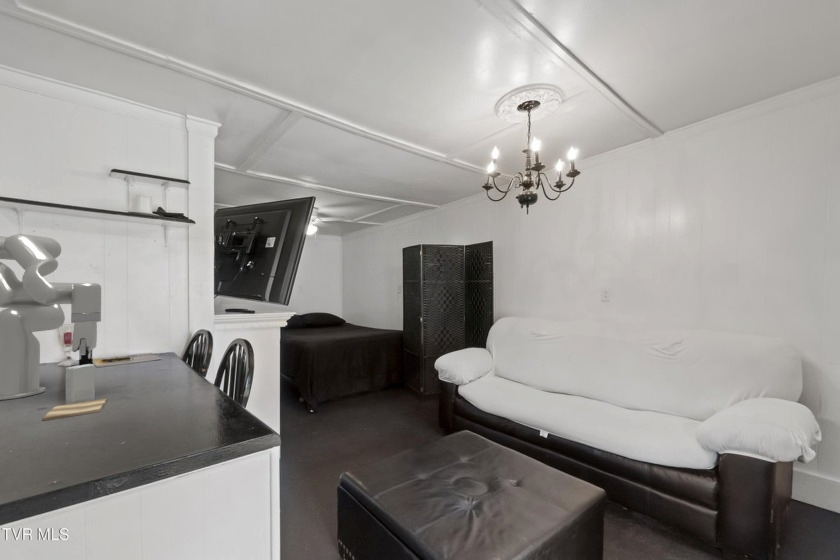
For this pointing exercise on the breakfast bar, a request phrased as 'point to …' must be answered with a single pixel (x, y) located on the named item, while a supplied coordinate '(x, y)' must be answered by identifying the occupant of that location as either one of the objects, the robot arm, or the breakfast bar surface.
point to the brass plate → (75, 409)
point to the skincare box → (80, 383)
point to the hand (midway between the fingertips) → (85, 370)
